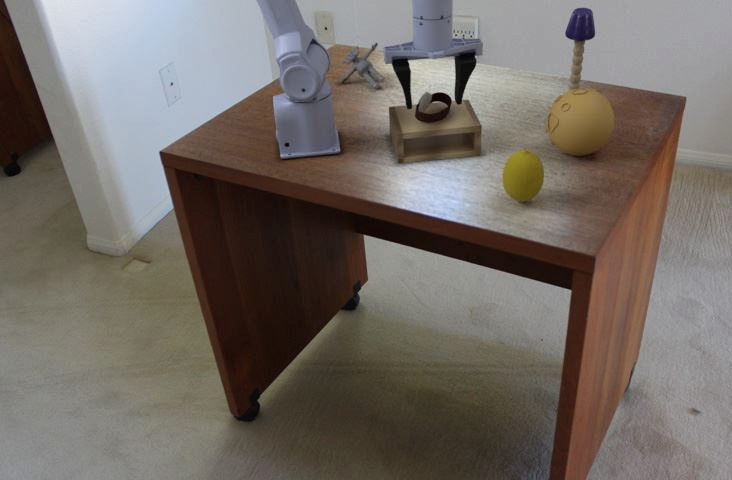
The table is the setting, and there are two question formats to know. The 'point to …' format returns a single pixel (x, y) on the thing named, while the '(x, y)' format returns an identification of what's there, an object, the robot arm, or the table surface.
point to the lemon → (523, 175)
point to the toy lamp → (579, 40)
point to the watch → (424, 104)
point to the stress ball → (580, 121)
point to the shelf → (435, 133)
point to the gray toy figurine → (362, 66)
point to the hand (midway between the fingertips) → (433, 104)
